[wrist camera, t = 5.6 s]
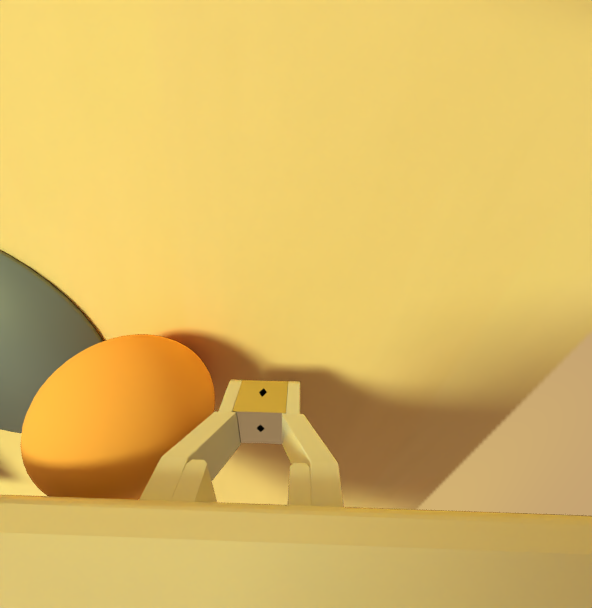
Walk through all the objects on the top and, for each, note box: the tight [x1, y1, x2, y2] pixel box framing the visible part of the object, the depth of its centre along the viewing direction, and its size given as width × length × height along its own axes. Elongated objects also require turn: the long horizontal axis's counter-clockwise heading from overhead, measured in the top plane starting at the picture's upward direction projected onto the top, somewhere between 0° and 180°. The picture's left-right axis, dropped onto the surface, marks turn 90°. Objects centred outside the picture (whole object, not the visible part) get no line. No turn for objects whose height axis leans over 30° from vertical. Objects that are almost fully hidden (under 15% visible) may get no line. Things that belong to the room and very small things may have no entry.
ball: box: [21, 334, 215, 500], centre depth 9 cm, size 6×6×6 cm
